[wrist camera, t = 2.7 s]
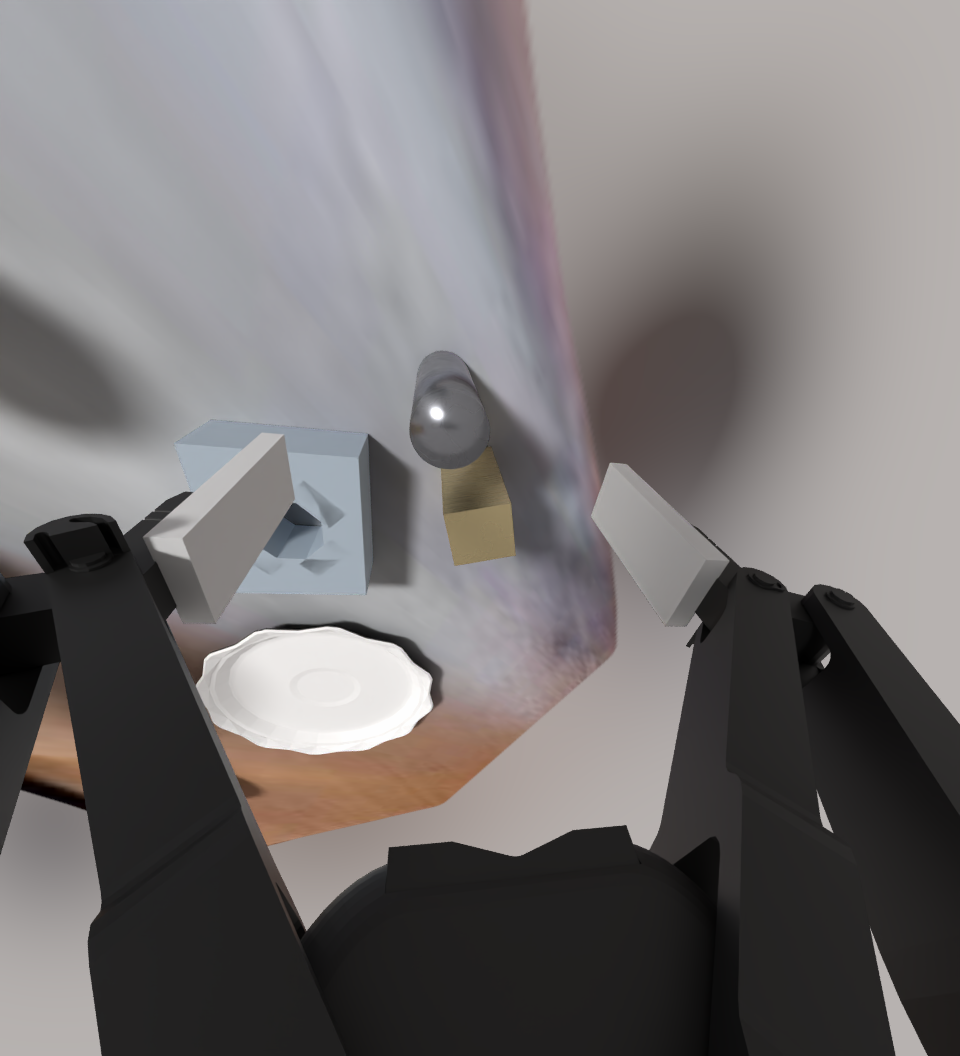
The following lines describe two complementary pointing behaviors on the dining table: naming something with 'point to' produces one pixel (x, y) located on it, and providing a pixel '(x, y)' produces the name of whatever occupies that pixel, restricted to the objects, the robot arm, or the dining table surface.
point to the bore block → (319, 487)
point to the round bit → (447, 413)
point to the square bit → (477, 511)
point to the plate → (314, 690)
